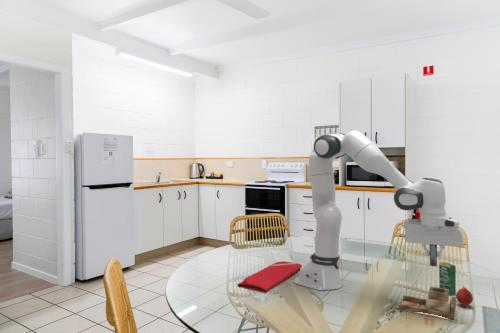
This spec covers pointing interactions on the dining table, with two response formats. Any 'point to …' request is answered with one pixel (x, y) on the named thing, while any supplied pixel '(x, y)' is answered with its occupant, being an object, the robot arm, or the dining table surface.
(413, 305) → the bay
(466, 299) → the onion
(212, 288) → the dining table surface
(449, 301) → the crate
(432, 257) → the handle peg
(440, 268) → the coffee box
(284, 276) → the red folded cloth
